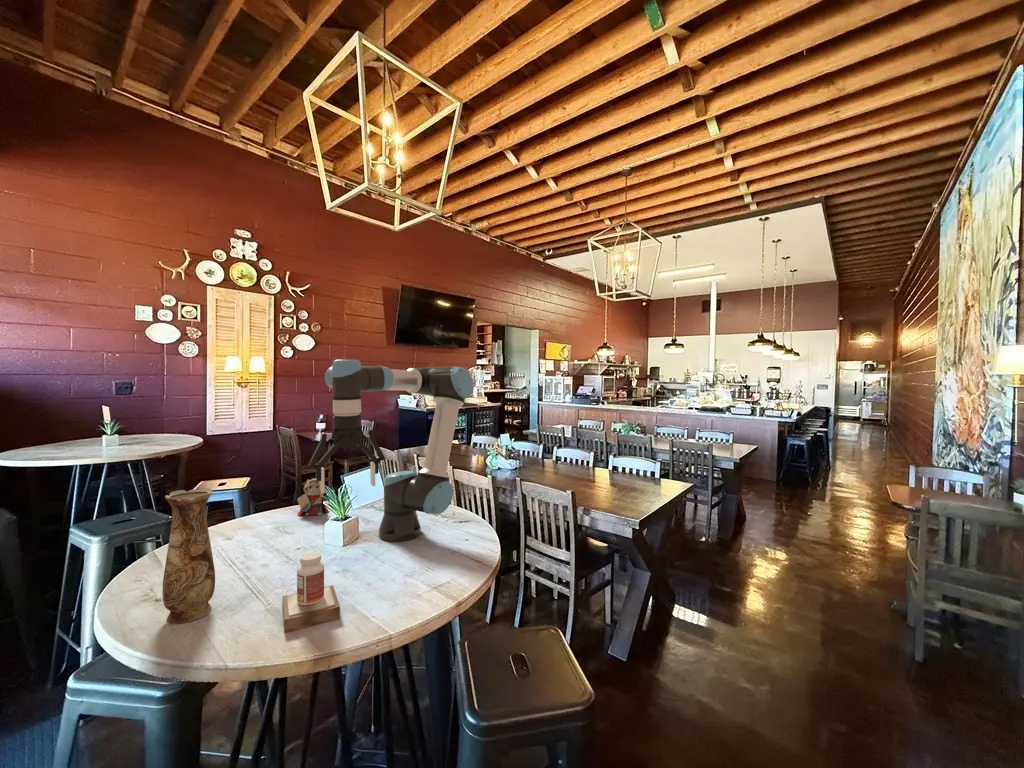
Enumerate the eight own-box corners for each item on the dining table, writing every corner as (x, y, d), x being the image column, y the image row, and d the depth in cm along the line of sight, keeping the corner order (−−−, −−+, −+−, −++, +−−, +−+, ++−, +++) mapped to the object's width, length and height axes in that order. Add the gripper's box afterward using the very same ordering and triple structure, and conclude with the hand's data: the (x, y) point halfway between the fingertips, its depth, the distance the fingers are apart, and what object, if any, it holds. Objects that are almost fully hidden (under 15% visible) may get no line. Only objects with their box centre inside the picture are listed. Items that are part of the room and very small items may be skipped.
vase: (161, 630, 99) (160, 501, 99) (164, 609, 108) (163, 490, 107) (215, 616, 105) (215, 494, 105) (214, 597, 114) (214, 485, 113)
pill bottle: (327, 593, 111) (328, 550, 111) (318, 606, 105) (318, 561, 104) (303, 593, 111) (303, 550, 110) (292, 606, 104) (292, 561, 104)
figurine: (291, 518, 175) (291, 482, 175) (302, 509, 187) (302, 475, 186) (324, 518, 177) (324, 482, 176) (333, 509, 188) (333, 475, 188)
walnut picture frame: (332, 596, 116) (333, 584, 116) (339, 618, 105) (339, 605, 105) (282, 607, 110) (282, 594, 110) (284, 632, 99) (284, 618, 99)
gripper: (388, 410, 131) (389, 479, 132) (296, 415, 118) (298, 491, 120) (395, 413, 125) (395, 485, 126) (299, 418, 112) (301, 499, 113)
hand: (348, 488), depth 123 cm, fingers open, 13 cm apart
